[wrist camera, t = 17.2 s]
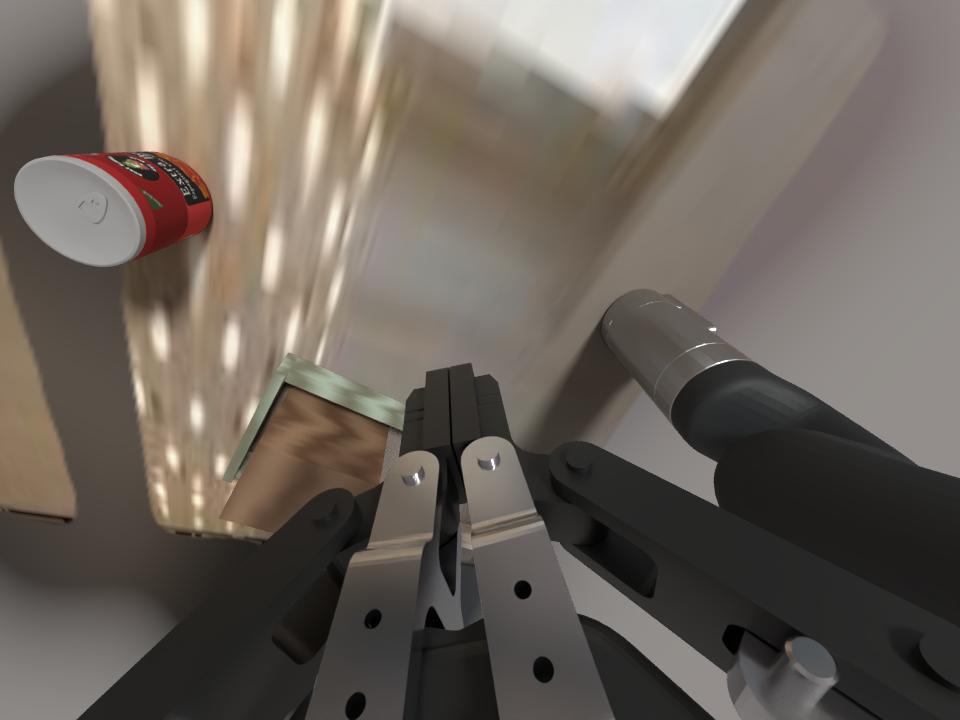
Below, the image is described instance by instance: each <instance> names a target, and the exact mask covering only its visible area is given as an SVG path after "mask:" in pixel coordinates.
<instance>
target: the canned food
mask: <svg viewBox="0 0 960 720" xmlns="http://www.w3.org/2000/svg"><path fill="white" fill-rule="evenodd" d="M14 192H15V200H16V202H17V206H18V209H19V211H20V213H21V214H22V216H23V218H24V220H25V221H26V223H27V224H28V225H29V227H30V228H31V229H32V231H33V232H34V233H35V234H36V235H37V236H38V237H39V238H40V239H41V240H42V241H44V242H45V243H46V244H47V245H48V246H50V247H51V248H52V249H54V250H56V251H57V252H59V253H60V254H62V255H63V256H66V257H68V258H70V259H72V260H74V261H77V262H80V263H83V264H87V265H92V266H98V267H109V266H115V265H119V264H124V263H127V262H129V261H132V260H135V259H137V258H140V257H142V256H145V255H147V254H150V253H152V252H155V251H157V250H160V249H162V248H164V247H167V246H169V245H172V244H174V243H177V242H179V241H182V240H184V239H187V238H189V237H192V236H194V235H196V234H198V233H200V232H201V231H202V230H203V229H204V228H205V227H206V226H207V224H208V223H209V221H210V218H211V216H212V210H213V205H212V199H211V195H210V192H209V190H208V188H207V186H206V184H205V183H204V181H203V180H202V178H201V177H200V176H199V175H198V174H197V173H196V172H195V171H194V170H193V169H192V168H191V167H189V166H188V165H187V164H185V163H183V162H182V161H180V160H178V159H176V158H173V157H171V156H169V155H166V154H163V153H158V152H122V153H96V154H70V155H54V156H48V157H43V158H38V159H35V160H33V161H30V162H28V163H27V164H26V165H24V166H23V167H22V168H21V169H20V171H19V173H18V174H17V177H16V179H15V186H14Z"/></svg>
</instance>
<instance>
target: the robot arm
mask: <svg viewBox="0 0 960 720" xmlns="http://www.w3.org/2000/svg"><path fill="white" fill-rule="evenodd" d="M601 332H602V337H603V339H604V341H605V343H606V344H607V345H608V347H609V348H610V350H612V351H613V353H614V354H615V355H616V356H617V358H618V359H619V360H620V362H621V363H622V364H623V365H624V366H625V368H626V369H627V370H628V371H629V373H630V374H631V375H632V376H633V378H634V379H635V380H636V381H637V382H638V384H639V385H640V386H641V387H642V389H643V390H644V391H645V392H646V394H647V395H648V396H649V397H650V398H651V400H652V401H653V402H654V403H655V404H656V406H657V407H658V408H659V409H660V411H661V412H662V413H663V414H664V415H665V417H666V418H667V419H668V420H669V422H670V423H671V424H672V425H673V427H674V428H675V429H676V430H677V431H678V433H679V434H680V435H681V436H682V438H683V439H684V440H685V441H686V442H687V443H688V444H689V445H690V446H691V447H692V448H693V449H695V450H696V451H698V452H699V453H701V454H703V455H705V456H707V457H709V458H710V459H712V460H714V461H716V462H718V464H717V466H716V469H715V473H714V488H715V495H716V498H717V501H718V504H719V507H718V506H716V505H714V504H712V503H710V502H708V501H706V500H704V499H702V498H700V497H698V496H696V495H694V494H692V493H690V492H688V491H686V490H684V489H682V488H680V487H678V486H676V485H674V484H672V483H670V482H668V481H666V480H664V479H662V478H660V477H658V476H656V475H654V474H652V473H649V472H648V471H646V470H644V469H642V468H640V467H638V466H636V465H634V464H632V463H630V462H627V461H626V460H624V459H622V458H620V457H618V456H616V455H614V454H612V453H610V452H608V451H606V450H604V449H602V448H600V447H598V446H596V445H593V444H591V443H588V442H582V441H574V442H568V443H565V444H562V445H560V446H559V447H557V448H556V449H555V450H554V451H553V452H552V454H551V455H540V454H533V453H529V452H526V451H524V450H522V449H520V448H519V447H518V446H516V444H515V443H514V442H513V440H512V438H511V435H510V431H509V427H508V423H507V419H506V414H505V410H504V406H503V402H502V398H501V394H500V389H499V385H498V382H497V381H496V380H495V379H494V378H493V377H492V376H491V375H490V374H488V375H483V376H478V377H474V373H473V369H472V365H471V363H467V364H462V365H457V366H452V367H450V370H449V368H443V369H438V370H433V371H428V372H426V385H425V387H424V388H419V389H414V390H413V391H412V393H411V394H410V396H409V397H408V399H407V400H406V406H405V414H404V424H403V430H402V438H401V446H400V454H399V458H398V459H397V460H395V461H394V462H393V463H392V464H391V466H390V467H389V469H388V470H387V473H386V476H385V480H384V481H383V482H382V483H381V484H379V485H377V486H376V487H374V488H372V489H370V490H367V491H365V492H363V493H361V494H359V495H357V496H355V497H354V496H353V495H352V493H351V492H350V491H348V490H346V489H343V488H333V489H329V490H326V491H324V492H321V493H320V494H318V495H316V496H315V497H313V498H312V499H311V500H310V501H308V502H307V503H306V504H305V505H304V506H303V507H302V508H301V509H300V510H299V511H298V512H297V513H296V514H295V515H294V516H292V517H291V518H290V519H289V520H288V521H287V522H286V523H285V524H284V525H283V526H282V527H281V528H280V529H279V530H278V531H277V532H275V533H274V534H273V535H272V536H271V537H270V538H269V539H268V540H267V541H266V542H265V543H264V544H263V545H262V546H261V547H259V548H258V549H257V550H256V551H255V552H254V553H253V554H252V555H251V556H250V557H249V558H248V559H247V560H246V561H245V562H244V563H243V564H241V565H240V566H239V567H238V568H237V569H236V570H235V571H234V572H233V573H232V574H231V575H230V576H229V577H228V578H227V579H225V580H224V582H222V583H221V584H220V585H219V586H218V587H217V588H216V589H215V590H214V591H213V592H212V593H211V594H210V595H209V596H207V597H206V598H205V599H204V600H203V601H202V602H201V603H200V604H199V605H198V606H197V607H196V608H195V609H194V610H193V611H192V612H190V613H189V614H188V615H187V616H186V617H185V618H184V619H183V620H182V621H181V622H180V623H179V624H178V625H177V626H176V627H175V628H173V629H172V630H171V631H170V632H169V633H168V634H167V635H166V636H165V637H164V638H163V639H162V640H161V641H160V642H159V643H158V644H156V645H155V646H154V647H153V648H152V649H151V650H150V651H149V652H148V653H147V654H146V655H145V656H144V657H143V658H142V659H141V660H140V661H138V662H137V663H136V664H135V665H134V666H133V667H132V668H131V669H130V670H129V671H128V672H127V673H126V674H124V676H122V677H121V678H120V679H119V680H118V681H117V682H116V683H115V684H114V685H113V686H112V687H111V688H110V689H109V690H107V691H106V692H105V693H104V695H102V696H101V697H100V698H99V699H98V700H97V701H96V702H95V703H94V704H93V705H92V706H90V708H88V709H87V710H86V711H85V712H84V713H83V714H82V715H81V716H80V717H79V718H78V719H77V720H284V718H285V717H286V716H287V714H288V713H289V712H290V710H291V709H292V708H293V706H294V705H295V704H296V702H297V701H298V700H299V698H300V697H301V696H302V694H303V693H304V692H305V690H306V689H307V688H308V686H309V685H310V684H311V682H312V681H313V680H314V678H315V677H316V675H317V674H318V675H317V679H316V682H315V686H314V688H313V689H312V690H311V692H310V693H309V694H308V695H307V696H306V697H305V699H304V700H303V701H302V703H301V704H300V705H299V707H298V708H297V710H296V711H295V712H294V714H293V715H292V717H291V718H290V720H715V719H714V718H713V717H712V716H711V715H710V714H709V713H707V712H706V711H705V710H704V709H703V708H702V707H701V706H700V705H699V704H698V703H696V702H695V701H694V700H693V699H692V698H691V697H690V696H689V695H688V694H686V693H685V692H684V691H683V690H682V689H681V688H680V687H679V686H677V685H676V684H675V683H674V682H673V681H672V680H671V679H670V678H669V677H667V676H666V675H665V674H664V673H663V672H662V671H661V670H660V669H659V668H658V667H656V666H655V665H654V664H653V663H652V662H651V661H650V660H649V659H648V658H646V657H645V656H644V655H643V654H642V653H641V652H640V651H639V650H638V649H637V648H635V647H634V646H633V645H632V644H631V643H630V642H629V641H627V640H626V639H625V638H624V637H622V636H621V635H620V634H618V633H617V632H615V631H614V630H613V629H611V628H610V627H608V626H606V625H604V624H602V623H600V622H599V621H597V620H594V619H592V618H589V617H587V616H584V615H581V614H577V612H576V610H575V607H574V604H573V601H572V599H571V596H570V593H569V590H568V587H567V585H566V582H565V579H564V576H563V573H562V571H561V568H560V565H559V563H558V560H557V557H556V554H555V552H554V549H553V546H552V543H551V541H557V542H560V544H561V545H562V547H563V548H564V549H565V550H566V551H568V552H569V553H570V554H572V555H573V556H574V557H575V558H577V559H578V560H579V561H581V562H582V563H583V564H584V565H586V566H587V567H588V568H590V569H591V570H592V571H594V572H595V573H596V574H598V575H599V576H600V577H602V578H603V579H604V580H606V581H607V582H608V583H609V584H611V585H612V586H613V587H615V588H616V589H617V590H619V591H620V592H621V593H622V594H624V595H625V596H626V597H628V598H629V599H630V600H631V601H633V602H634V603H635V604H637V605H638V606H639V607H641V608H642V609H643V610H645V611H646V612H647V613H648V614H650V615H651V616H652V617H654V618H655V619H657V620H658V621H659V622H660V623H661V624H663V625H664V626H665V627H667V628H668V629H669V630H671V631H672V632H673V633H675V634H676V635H677V636H678V637H680V638H681V639H682V640H684V641H685V642H686V643H688V644H689V645H690V646H692V647H693V648H694V649H695V650H697V651H698V652H699V653H701V654H702V655H703V656H705V657H706V658H707V659H709V660H710V661H711V662H712V663H714V664H715V665H716V666H718V667H719V668H720V669H722V670H723V671H724V672H725V673H727V685H728V691H729V695H730V698H731V700H732V703H733V705H734V707H735V709H736V711H737V713H738V715H739V716H740V718H741V719H742V720H960V478H957V477H953V476H950V475H947V474H943V473H940V472H937V471H933V470H930V469H926V468H923V467H920V466H918V465H917V464H915V463H914V462H912V461H911V460H910V459H909V458H907V457H906V456H904V455H903V454H902V453H900V452H899V451H897V450H896V449H894V448H893V447H891V446H890V445H888V444H887V443H885V442H884V441H882V440H881V439H879V438H878V437H876V436H875V435H873V434H872V433H870V432H869V431H867V430H866V429H864V428H863V427H861V426H860V425H858V424H857V423H855V422H853V421H852V420H850V419H849V418H847V417H846V416H844V415H843V414H841V413H840V412H838V411H837V410H835V409H834V408H832V407H831V406H829V405H828V404H826V403H825V402H823V401H821V400H820V399H818V398H817V397H815V396H814V395H812V394H810V393H809V392H807V391H805V390H803V389H802V388H800V387H798V386H796V385H794V384H792V383H790V382H788V381H786V380H784V379H782V378H780V377H778V376H776V375H774V374H773V373H771V372H770V371H768V370H766V369H765V368H763V367H762V366H760V365H759V364H757V363H756V362H755V361H753V360H752V359H750V358H748V357H747V356H746V355H745V354H743V353H742V352H740V351H739V350H738V349H736V348H734V347H733V346H732V345H730V344H729V343H727V342H726V341H725V340H723V339H722V338H720V337H719V336H718V335H717V327H716V326H715V325H714V324H713V323H711V322H710V321H708V320H706V319H705V318H704V317H702V316H701V315H699V314H698V313H696V312H695V311H693V310H692V309H690V308H689V307H687V306H686V305H685V304H683V303H682V302H680V301H679V300H677V299H676V298H674V297H673V296H671V295H660V294H658V293H656V292H655V291H650V290H638V291H633V292H630V293H628V294H626V295H624V296H622V297H621V298H619V299H618V300H617V301H616V302H614V303H613V304H612V305H611V307H610V308H609V309H608V311H607V312H606V314H605V316H604V318H603V321H602V327H601ZM463 503H468V507H469V513H470V519H471V525H472V533H471V542H472V549H473V555H474V561H475V567H476V574H477V580H478V586H479V593H480V599H481V605H482V611H483V617H484V618H483V619H481V620H479V621H477V622H475V623H473V624H471V625H470V626H467V627H465V628H463V621H462V615H461V607H460V579H461V536H462V531H461V525H460V512H459V504H463ZM323 570H325V571H326V572H325V573H324V574H323V575H322V576H321V578H320V579H319V580H318V581H317V582H316V583H315V584H314V585H313V587H312V588H311V589H310V590H309V591H308V592H307V593H306V595H305V596H304V597H303V598H302V599H301V600H300V601H299V602H298V604H297V605H296V606H295V607H294V608H293V609H292V610H291V612H290V613H289V614H288V615H287V616H286V617H285V618H284V620H282V621H281V622H280V623H279V624H278V625H277V623H278V621H279V620H280V619H281V618H282V616H283V615H284V614H285V613H286V612H287V611H288V610H289V609H290V607H291V606H292V605H293V604H294V603H295V602H296V601H297V600H298V598H299V597H300V596H301V595H302V594H303V593H304V592H305V591H306V589H307V588H308V587H309V586H310V585H311V584H312V583H313V581H314V580H315V579H316V578H317V577H318V576H319V575H320V573H322V571H323Z"/></svg>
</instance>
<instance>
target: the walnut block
mask: <svg viewBox="0 0 960 720" xmlns="http://www.w3.org/2000/svg"><path fill="white" fill-rule="evenodd" d="M388 430H389V425H387V424H385V423H383V422H380V421H378V420H375V419H373V418H371V417H368V416H366V415H363V414H361V413H359V412H356V411H354V410H351V409H349V408H347V407H344V406H342V405H339V404H337V403H335V402H332V401H330V400H328V399H325V398H323V397H320V396H318V395H316V394H313V393H311V392H308V391H306V390H304V389H301V388H299V387H296V386H294V385H292V387H291V389H290V390H289V392H288V394H287V395H286V397H285V399H284V400H283V402H282V404H281V406H280V407H279V409H278V411H277V412H276V414H275V416H274V417H273V419H272V421H271V422H270V424H269V426H268V427H267V429H266V431H265V432H264V434H263V436H262V438H261V439H260V441H259V443H258V444H257V446H256V448H255V450H254V452H253V454H252V456H251V458H250V460H249V461H248V463H247V465H246V467H245V469H244V471H243V473H242V475H241V477H240V479H239V480H238V482H237V484H236V486H235V488H234V490H233V492H232V494H231V496H230V498H229V500H228V501H227V503H226V505H225V507H224V509H223V511H222V513H221V515H220V517H219V519H223V520H227V521H231V522H235V523H238V524H242V525H246V526H250V527H254V528H257V529H261V530H265V531H269V532H273V533H275V532H277V531H278V530H279V529H280V528H281V527H282V526H283V525H284V524H285V523H286V522H287V521H288V520H289V519H290V518H291V517H292V516H294V515H295V514H296V513H297V512H298V511H299V510H300V509H301V508H302V507H303V506H304V505H305V504H306V503H307V502H308V501H310V500H311V499H312V498H313V497H315V496H316V495H318V494H320V493H321V492H324V491H326V490H329V489H333V488H343V489H346V490H348V491H350V492H351V493H352V495H353V496H354V497H355V496H357V495H359V494H361V493H363V492H365V491H367V490H370V489H372V488H374V487H376V486H377V485H379V482H380V476H381V470H382V465H383V459H384V453H385V447H386V441H387V436H388Z"/></svg>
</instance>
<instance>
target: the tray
mask: <svg viewBox="0 0 960 720" xmlns="http://www.w3.org/2000/svg"><path fill="white" fill-rule="evenodd" d="M285 382H287V383H289V384H292V385H294V386H296V387H299V388H301V389H304V390H306V391H308V392H311V393H313V394H316V395H318V396H320V397H323V398H325V399H328V400H330V401H332V402H335V403H337V404H339V405H342V406H344V407H347V408H349V409H351V410H354V411H356V412H359V413H361V414H363V415H366V416H368V417H371V418H373V419H375V420H378V421H380V422H383V423H385V424H387V425H390V426H392V427H395V428H397V429H399V430H403V424H404V414H405V406H406V405H404V404H402V403H400V402H398V401H396V400H393V399H391V398H389V397H387V396H384V395H382V394H380V393H378V392H375V391H373V390H371V389H369V388H367V387H364V386H362V385H360V384H358V383H355V382H353V381H351V380H349V379H346V378H344V377H342V376H340V375H338V374H335V373H333V372H331V371H329V370H326V369H324V368H322V367H320V366H318V365H315V364H313V363H311V362H309V361H306V360H304V359H302V358H300V357H297V356H295V355H293V354H291V353H288V355H287V356H286V357H285V359H284V360H283V362H282V363H281V365H280V366H279V367H278V369H277V370H276V372H275V373H274V375H273V377H272V379H271V381H270V383H269V385H268V387H267V389H266V391H265V393H264V395H263V397H262V399H261V401H260V403H259V405H258V407H257V409H256V411H255V413H254V415H253V417H252V419H251V421H250V423H249V425H248V428H247V430H246V432H245V434H244V436H243V438H242V440H241V442H240V444H239V446H238V448H237V450H236V452H235V454H234V456H233V458H232V460H231V462H230V464H229V466H228V468H227V470H226V472H225V474H224V476H223V478H222V480H223V481H226V482H230V483H231V482H232V480H233V479H234V477H236V478H239V479H240V477H241V475H242V473H243V471H244V469H245V467H246V465H247V463H248V461H249V460H250V458H251V456H252V454H253V452H252V451H250V450H251V448H252V446H253V444H254V442H255V440H256V438H257V436H258V434H259V432H260V430H261V428H262V426H263V424H264V422H265V421H266V419H267V417H268V415H269V413H270V411H271V409H272V407H273V405H274V403H275V401H276V399H277V397H278V395H279V393H280V391H281V389H282V388H283V386H284V384H285ZM460 525H461V531H462V536H461V547H464V548H467V549H470V550H473V549H472V542H471V533H472V526H471V525H468V524H465V523H462V522H460Z"/></svg>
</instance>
